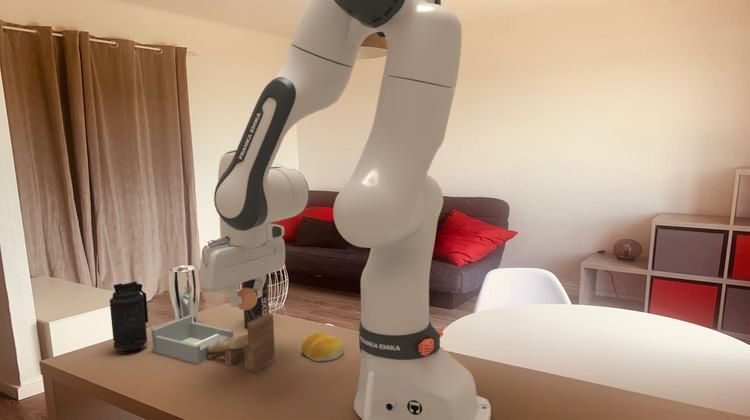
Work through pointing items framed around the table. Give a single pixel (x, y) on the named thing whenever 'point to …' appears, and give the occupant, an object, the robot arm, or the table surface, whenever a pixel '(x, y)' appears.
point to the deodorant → (261, 305)
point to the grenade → (129, 317)
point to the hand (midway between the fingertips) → (246, 301)
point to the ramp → (248, 346)
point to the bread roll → (322, 347)
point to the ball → (247, 298)
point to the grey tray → (186, 339)
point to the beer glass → (185, 291)
